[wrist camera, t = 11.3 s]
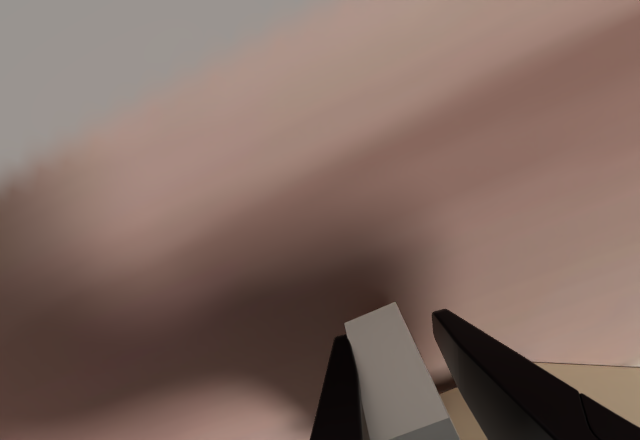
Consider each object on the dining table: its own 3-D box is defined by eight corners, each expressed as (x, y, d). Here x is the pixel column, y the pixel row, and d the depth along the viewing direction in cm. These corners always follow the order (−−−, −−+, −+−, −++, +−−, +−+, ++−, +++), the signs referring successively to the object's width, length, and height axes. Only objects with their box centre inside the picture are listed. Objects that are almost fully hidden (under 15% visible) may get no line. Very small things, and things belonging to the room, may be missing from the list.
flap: (390, 422, 12) (428, 556, 9) (320, 317, 9) (338, 457, 6) (530, 370, 12) (630, 494, 8) (503, 239, 9) (639, 347, 5)
